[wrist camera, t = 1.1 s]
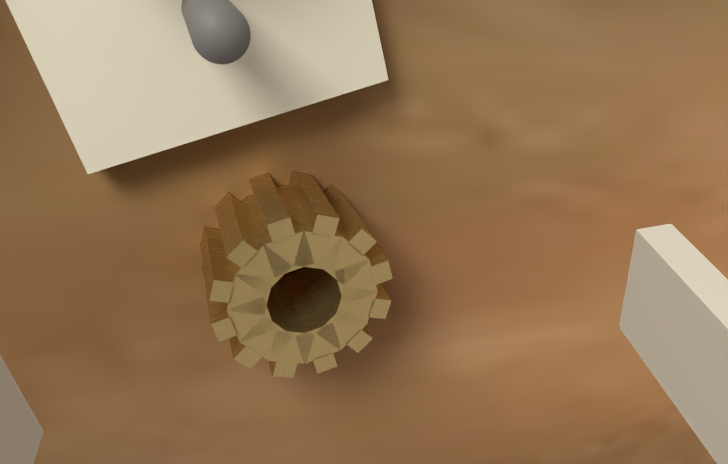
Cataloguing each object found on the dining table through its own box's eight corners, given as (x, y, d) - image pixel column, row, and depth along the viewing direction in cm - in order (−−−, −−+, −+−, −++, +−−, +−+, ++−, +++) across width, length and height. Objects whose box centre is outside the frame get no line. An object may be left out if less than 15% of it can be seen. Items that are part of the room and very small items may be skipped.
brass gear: (373, 284, 40) (407, 339, 34) (231, 336, 38) (244, 401, 33) (338, 150, 35) (370, 189, 30) (176, 203, 34) (181, 254, 29)
